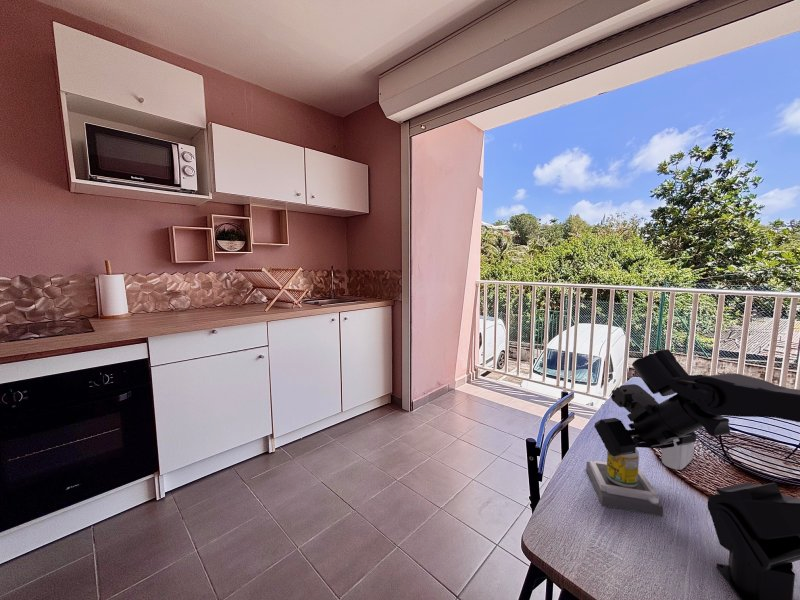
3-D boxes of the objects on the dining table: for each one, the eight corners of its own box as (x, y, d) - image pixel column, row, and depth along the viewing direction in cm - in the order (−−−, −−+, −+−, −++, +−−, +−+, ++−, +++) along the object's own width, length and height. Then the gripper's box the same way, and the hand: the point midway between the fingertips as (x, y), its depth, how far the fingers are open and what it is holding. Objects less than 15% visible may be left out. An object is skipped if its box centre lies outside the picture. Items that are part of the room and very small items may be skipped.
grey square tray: (662, 516, 59) (663, 500, 59) (602, 505, 62) (602, 490, 62) (636, 477, 71) (637, 463, 71) (586, 469, 74) (586, 456, 74)
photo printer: (673, 450, 81) (676, 404, 80) (695, 458, 78) (698, 410, 77) (658, 464, 76) (661, 414, 75) (681, 473, 72) (684, 421, 71)
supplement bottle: (644, 488, 64) (646, 443, 63) (617, 488, 64) (619, 443, 63) (625, 472, 69) (626, 429, 68) (600, 472, 69) (602, 430, 68)
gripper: (682, 372, 63) (629, 404, 74) (604, 380, 59) (560, 413, 70) (728, 429, 56) (661, 455, 67) (643, 442, 52) (587, 467, 63)
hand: (617, 445), depth 67 cm, fingers closed on supplement bottle, 5 cm apart
